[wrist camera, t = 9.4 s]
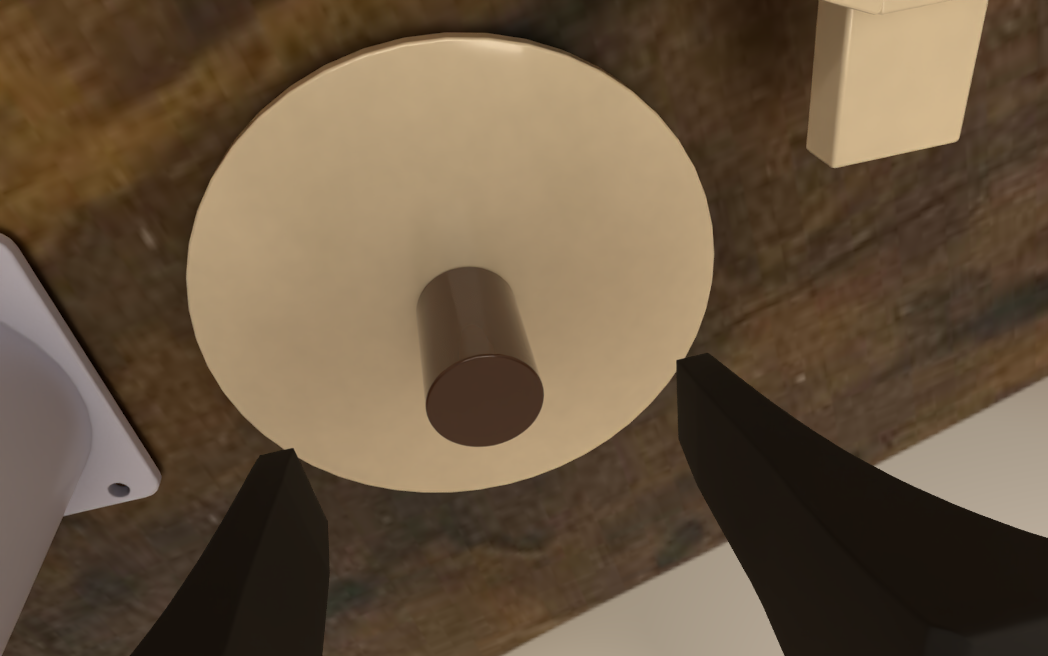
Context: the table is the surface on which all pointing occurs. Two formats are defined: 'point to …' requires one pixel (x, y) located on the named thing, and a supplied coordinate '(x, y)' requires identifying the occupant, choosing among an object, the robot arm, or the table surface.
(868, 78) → the pot
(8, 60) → the table surface
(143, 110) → the table surface
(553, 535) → the table surface
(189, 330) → the table surface
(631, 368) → the lid
